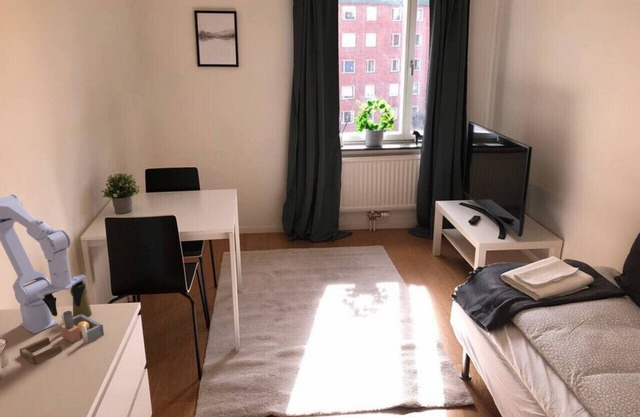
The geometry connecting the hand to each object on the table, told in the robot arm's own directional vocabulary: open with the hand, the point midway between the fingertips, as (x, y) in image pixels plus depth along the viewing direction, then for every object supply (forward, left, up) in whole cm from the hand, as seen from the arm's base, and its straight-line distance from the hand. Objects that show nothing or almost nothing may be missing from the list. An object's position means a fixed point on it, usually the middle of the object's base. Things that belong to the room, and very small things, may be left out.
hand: (66, 310), depth 170 cm
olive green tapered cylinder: (-10, +10, -10) cm, 18 cm away
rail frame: (+1, -10, -10) cm, 14 cm away
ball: (+1, +4, -8) cm, 9 cm away
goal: (+1, +4, -10) cm, 11 cm away
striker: (+1, 0, -10) cm, 10 cm away
